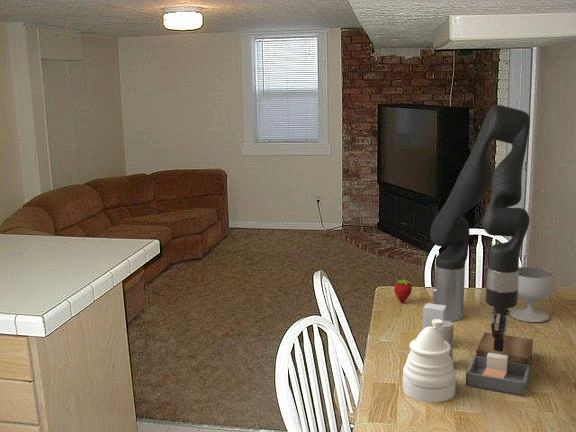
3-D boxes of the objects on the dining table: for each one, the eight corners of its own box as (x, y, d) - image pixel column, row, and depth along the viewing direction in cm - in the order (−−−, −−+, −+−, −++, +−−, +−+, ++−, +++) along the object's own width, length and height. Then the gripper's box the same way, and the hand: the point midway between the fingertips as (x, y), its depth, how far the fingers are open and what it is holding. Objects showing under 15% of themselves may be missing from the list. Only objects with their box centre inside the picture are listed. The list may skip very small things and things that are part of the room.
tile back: (487, 370, 164) (485, 374, 162) (488, 352, 163) (486, 356, 161) (507, 373, 162) (506, 377, 160) (508, 355, 161) (507, 359, 159)
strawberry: (412, 300, 218) (413, 273, 216) (410, 307, 211) (410, 279, 209) (395, 299, 220) (396, 272, 218) (392, 306, 213) (392, 278, 211)
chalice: (498, 316, 202) (500, 272, 199) (521, 305, 211) (523, 263, 208) (539, 328, 192) (542, 281, 189) (561, 316, 201) (564, 272, 197)
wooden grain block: (475, 367, 167) (476, 350, 166) (483, 348, 178) (484, 332, 177) (527, 376, 161) (528, 358, 160) (532, 356, 173) (533, 339, 172)
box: (465, 385, 157) (466, 373, 157) (473, 367, 167) (473, 355, 166) (524, 396, 151) (525, 383, 150) (528, 377, 161) (529, 364, 160)
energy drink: (429, 361, 171) (430, 320, 169) (448, 360, 172) (449, 319, 169) (435, 369, 166) (436, 327, 164) (455, 368, 167) (456, 326, 164)
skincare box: (446, 343, 182) (447, 305, 180) (443, 349, 179) (444, 310, 176) (425, 340, 185) (426, 302, 182) (422, 346, 181) (423, 307, 179)
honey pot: (437, 374, 164) (438, 309, 160) (465, 396, 152) (468, 327, 148) (393, 382, 160) (394, 316, 156) (419, 406, 148) (420, 336, 144)
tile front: (486, 367, 160) (486, 376, 161) (481, 375, 156) (481, 384, 157) (506, 371, 158) (506, 380, 158) (502, 379, 154) (502, 389, 154)
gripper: (490, 276, 162) (487, 338, 166) (482, 292, 151) (478, 358, 155) (521, 279, 159) (517, 342, 163) (514, 296, 148) (510, 363, 151)
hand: (498, 350), depth 159 cm, fingers closed
